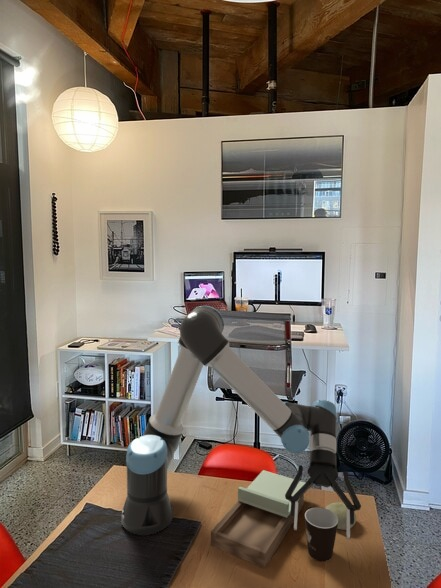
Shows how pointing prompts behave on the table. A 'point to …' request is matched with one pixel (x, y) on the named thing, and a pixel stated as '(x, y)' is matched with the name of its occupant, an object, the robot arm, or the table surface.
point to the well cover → (269, 493)
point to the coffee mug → (320, 532)
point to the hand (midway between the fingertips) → (321, 533)
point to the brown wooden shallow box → (251, 532)
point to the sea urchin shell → (340, 514)
